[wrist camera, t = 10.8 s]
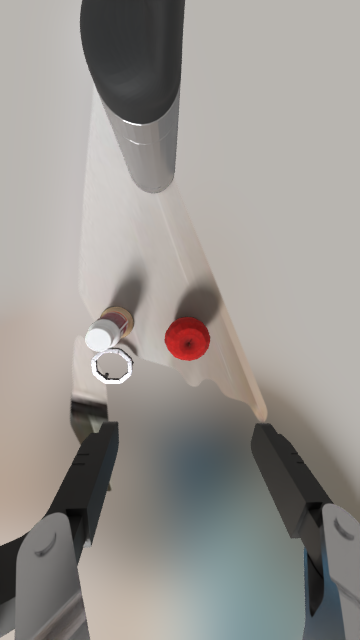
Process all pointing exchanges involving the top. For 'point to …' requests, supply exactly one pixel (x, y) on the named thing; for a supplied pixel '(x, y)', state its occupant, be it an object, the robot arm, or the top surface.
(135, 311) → the top surface
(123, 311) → the cork coaster
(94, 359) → the ring stand
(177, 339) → the apple
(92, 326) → the pill bottle
